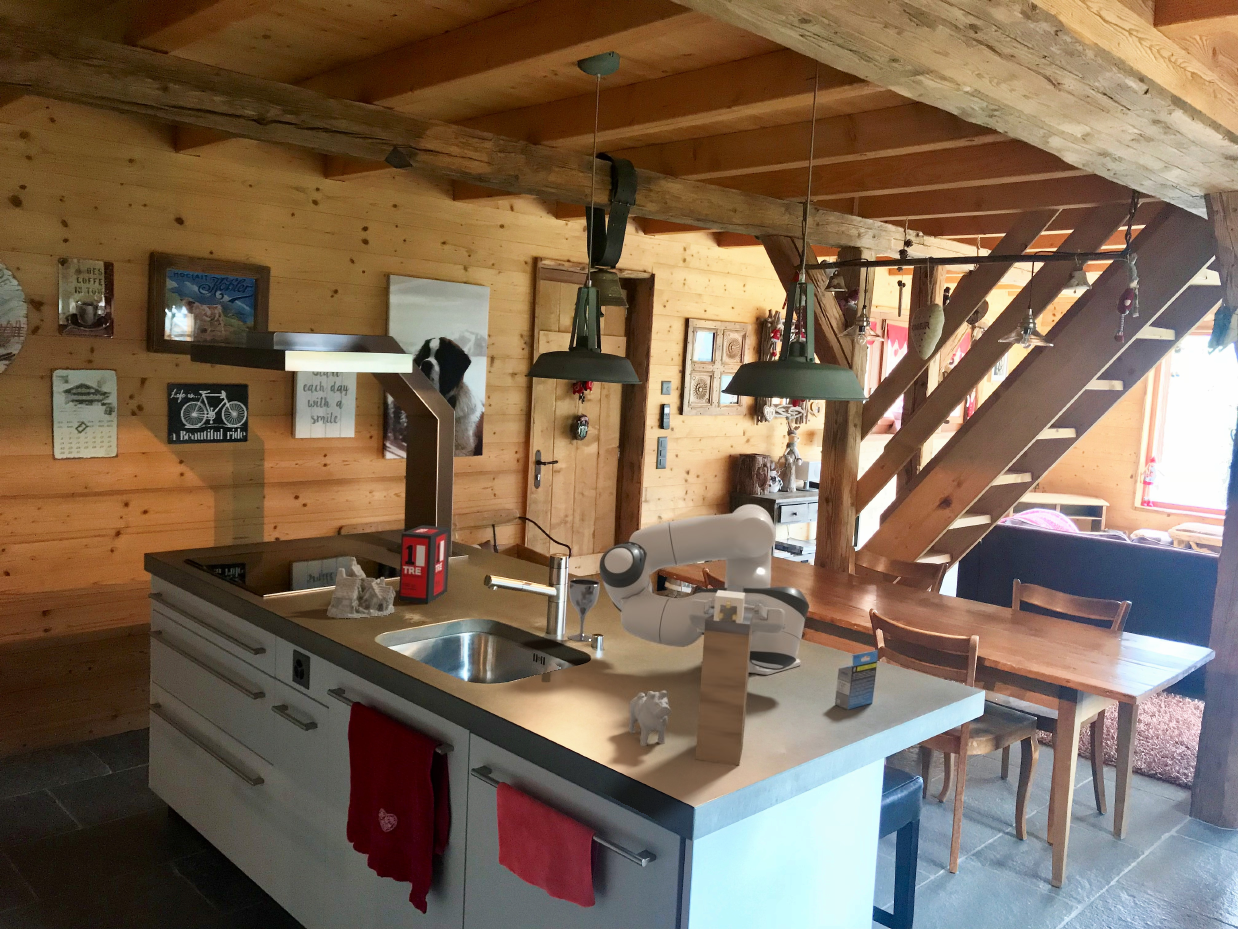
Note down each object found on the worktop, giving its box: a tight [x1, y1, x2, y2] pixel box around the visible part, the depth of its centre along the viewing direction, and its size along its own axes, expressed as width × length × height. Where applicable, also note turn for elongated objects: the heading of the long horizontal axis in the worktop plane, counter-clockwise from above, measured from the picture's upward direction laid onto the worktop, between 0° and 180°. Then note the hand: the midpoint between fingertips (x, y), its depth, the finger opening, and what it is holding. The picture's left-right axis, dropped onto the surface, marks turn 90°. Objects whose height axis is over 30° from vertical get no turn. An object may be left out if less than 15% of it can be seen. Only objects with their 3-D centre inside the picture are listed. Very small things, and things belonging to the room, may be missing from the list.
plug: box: [714, 585, 745, 623], centre depth 178 cm, size 20×5×4 cm, turn 169°
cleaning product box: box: [398, 525, 451, 605], centre depth 283 cm, size 16×9×20 cm, turn 171°
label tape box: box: [834, 649, 879, 711], centre depth 209 cm, size 9×4×12 cm, turn 128°
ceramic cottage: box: [326, 556, 396, 619], centre depth 261 cm, size 16×16×15 cm
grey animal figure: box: [628, 690, 672, 747], centre depth 181 cm, size 5×13×11 cm, turn 20°
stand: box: [694, 608, 753, 766], centre depth 176 cm, size 9×8×26 cm
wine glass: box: [567, 577, 601, 643], centre depth 249 cm, size 8×8×15 cm
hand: (735, 605), depth 196 cm, fingers open, 8 cm apart
